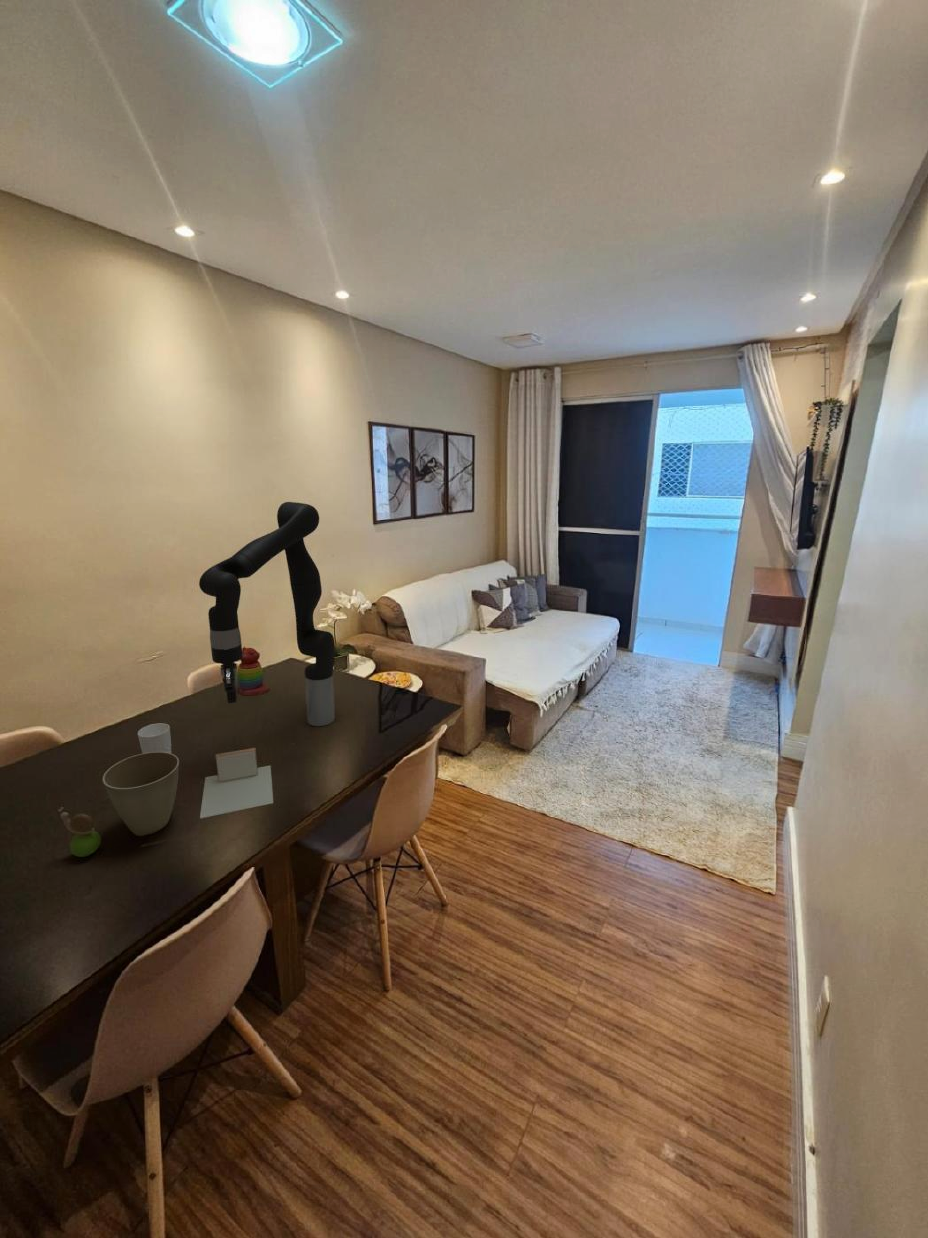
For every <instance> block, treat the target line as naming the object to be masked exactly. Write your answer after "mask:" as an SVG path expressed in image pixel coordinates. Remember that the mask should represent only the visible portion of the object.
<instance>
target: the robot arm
mask: <svg viewBox="0 0 928 1238" xmlns="http://www.w3.org/2000/svg"><path fill="white" fill-rule="evenodd" d="M276 520H277V526H278V528H277V529H275V530H272V531H271V532H269V533H267V534H265V535H262V536H259V537H257V538H255V539H253V540H251V541H250V542H249V543H247V544H246V545H244V546H243V547H242V548H240V549H239V550H238V551H237V552H235V553H234V554H233V555H232V556H230V557H228V558H227V559H224V560H222V561H220V562H218V563H216V564H214V565H212V566H211V567H210V568H208V569H207V570H205V571H204V572H203V573H202V575H201V576H200V579H199V580H198V581H199V582H198V586H199V588H200V590H201V592H202V593H203V594H206V595H207V596H209V597H214V598H215V605H214V606H212V607H211V606H210V608H209V609H208V614H207V615H208V625H209V643H210V649H211V659H212V661H213V663H215V664H220V675H221V678H222V684H223V687H224V691H225V693H226V698H227V703H228V704H233V703H234V704H235V703H237V697H238V696H237V687H236V686H237V682H238V679H237V672H238V665H237V664H238V663H237V662H239V661H241V659H242V657H243V654H242V649H243V645H242V636H241V635H242V634H241V630H240V626H239V615H238V610H239V606H240V600H241V592H242V591H241V590H242V589H241V588H242V587H241V583H240V581H239V579H246V578H247V579H249V578H250V577H251V576H253V575H254V574H255V573H256V572H258V571H259V570H260V569H261V568H263V566H265V565H266V564H267V563H269V562H270V560H272V559H274V557H276V556H277V555H279V554H280V553H281V552H283V551H284V553H285V556H286V563H287V564H286V565H287V569H288V573H289V574H288V575H289V583H290V589H291V594H292V600H293V606H294V613H295V614H294V615H295V625H296V643H297V647H298V650H299V652H300V654H302V655H304V656H308V657H311V658H312V657H313V658H315V662H314V663H311V664H309V665H307V666H306V667H305V668H304V680H305V681H304V684H305V685H304V686H305V699H306V719H307V720H306V721H307V723H308V724H309V725H310V726H314V727H324V726H328V725H330V724H332V723H333V722H334V721H335V720H334V719H335V693H334V668H335V646H336V644H335V643H336V642H335V637H334V635H333V633H331V632H330V631H326V630H321V629H316V628H315V625H314V624H315V623H314V612H315V609H317V608H316V607H317V606H318V604H319V602H320V599H321V597H322V592H323V590H322V589H323V588H322V582H321V575H320V571H319V569H318V567H317V565H316V563H315V562H314V560H313V558H312V556H311V555H310V553H309V552H308V549H307V546H306V544H305V539H304V538H306V537H307V536H309V535H311V534H313V533H314V532H315V531H316V529H317V528H318V526H319V523H320V515H319V512H318V509H316V508H315V507H314V506H313V505H311V504H307V503H302V502H297V501H296V502H293V501H285V502H283V503H281V504H280V505H279V507H278V510H277V514H276Z"/></svg>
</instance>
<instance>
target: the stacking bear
mask: <svg viewBox="0 0 928 1238" xmlns="http://www.w3.org/2000/svg"><path fill="white" fill-rule="evenodd" d="M242 654H243V657H242V659H241V660H240V663H239V665H238V666H237V682H238V685H239V690H238V692H239V694H240V695H243V696H256V695H261V694H266V693H268V692H269V691H270V687H269V686H268V685H265V684H264V683H263V681H264V671H263V668H262V665H261V662H260V661H259V659H260V657H261V654H260V652H258V651H257V650H256V649H254V648H252V647H246V646H244V647H243V646H242Z"/></svg>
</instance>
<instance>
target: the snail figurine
mask: <svg viewBox="0 0 928 1238" xmlns="http://www.w3.org/2000/svg"><path fill="white" fill-rule="evenodd" d="M63 810H64V807H63V806H61V807H60V809H58V813H59V814H60V818H61V819H62V822H63V824H64V826H65V827H66V828H67V831H69V832H70V833H73V834H75V836H74V837H73V838H72V839H71V840H70V843H69V851H70V852H71V854H72V855H73V856H76V857H80V858H83V857H84V858H85V857H89V856H90V855H92V854H94V853H95V852H96V851H97V850H98V848H99V847H100V845H101V841H102V839H101V835H100V834H99V832H98V831H96V830H95V829H96V828H93V827H94V820H93V818H92V816H90V815H88V814H85V813H77V814H75V815H74V816H72V817H71V819H70V817H69V812H66V811H63Z"/></svg>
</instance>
